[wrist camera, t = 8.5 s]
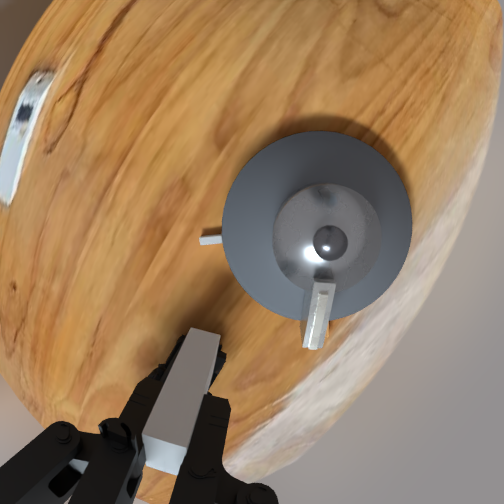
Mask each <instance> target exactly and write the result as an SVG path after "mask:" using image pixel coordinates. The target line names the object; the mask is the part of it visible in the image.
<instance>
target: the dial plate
mask: <svg viewBox="0 0 504 504" xmlns="http://www.w3.org/2000/svg"><path fill="white" fill-rule="evenodd" d="M321 182H325V183H333V184H338V185H341V186H344V187H347V188H350V189H352V190H354V191H356V192H358V193H359V194H360V195H362V196H363V197H364V198H365V199H366V200H367V201H368V202H369V203H370V204H371V206H372V207H373V208H374V210H375V212H376V214H377V216H378V219H379V222H380V226H381V232H382V241H381V248H380V252H379V255H378V258H377V260H376V262H375V264H374V266H373V268H372V269H371V270H370V272H369V273H368V274H367V275H366V276H365V277H364V278H363V279H362V280H361V281H360V282H358V283H357V284H356V285H354V286H352V287H350V288H348V289H346V290H343V291H341V292H336V293H334V298H333V303H332V307H331V312H330V317H329V321H330V320H335V319H339V318H343V317H346V316H349V315H351V314H354V313H356V312H358V311H360V310H362V309H363V308H365V307H367V306H368V305H370V304H371V303H373V302H374V301H375V300H376V299H378V298H379V297H380V296H381V295H382V294H383V293H384V292H385V291H386V290H387V289H388V288H389V287H390V285H391V284H392V283H393V281H394V280H395V279H396V277H397V275H398V274H399V272H400V270H401V269H402V266H403V264H404V262H405V260H406V257H407V254H408V250H409V247H410V242H411V236H412V213H411V207H410V202H409V198H408V195H407V192H406V190H405V187H404V185H403V183H402V181H401V179H400V177H399V175H398V174H397V172H396V171H395V170H394V168H393V167H392V165H391V164H390V163H389V162H388V161H387V160H386V159H385V158H384V157H383V156H382V155H381V154H380V153H379V152H377V151H376V150H375V149H374V148H372V147H371V146H369V145H367V144H366V143H364V142H362V141H360V140H358V139H356V138H353V137H351V136H348V135H344V134H340V133H336V132H328V131H309V132H303V133H297V134H294V135H291V136H287V137H284V138H282V139H280V140H278V141H276V142H274V143H272V144H270V145H268V146H267V147H266V148H264V149H263V150H261V151H260V152H258V153H257V154H256V155H255V156H254V157H253V158H252V159H251V160H250V161H249V162H248V163H247V164H246V165H245V166H244V168H243V169H242V170H241V171H240V173H239V174H238V176H237V178H236V179H235V181H234V182H233V184H232V187H231V189H230V191H229V193H228V196H227V199H226V203H225V206H224V211H223V218H222V234H216V235H207V236H201V237H200V238H199V239H200V245H207V244H218V243H223V247H224V251H225V255H226V258H227V261H228V263H229V266H230V268H231V271H232V272H233V274H234V276H235V277H236V279H237V281H238V282H239V283H240V285H241V286H242V287H243V289H244V290H245V291H246V292H247V293H248V294H249V295H250V296H251V297H252V298H253V299H254V300H255V301H257V302H258V303H259V304H261V305H262V306H263V307H265V308H267V309H269V310H270V311H272V312H274V313H277V314H279V315H281V316H284V317H287V318H291V319H294V320H300V321H301V315H302V309H303V303H304V297H305V291H306V290H304V289H302V288H300V287H298V286H296V285H295V284H293V283H292V282H291V281H290V280H289V279H288V278H287V277H286V276H285V275H284V274H283V272H282V271H281V269H280V268H279V266H278V264H277V262H276V259H275V256H274V252H273V224H274V220H275V217H276V214H277V212H278V210H279V208H280V206H281V205H282V203H283V202H284V201H285V200H286V199H287V198H288V197H289V196H290V195H291V194H292V193H293V192H295V191H296V190H298V189H300V188H302V187H304V186H306V185H309V184H313V183H321ZM329 321H328V326H327V330H326V335H325V338H328V337H329Z"/></svg>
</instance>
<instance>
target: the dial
mask: <svg viewBox="0 0 504 504" xmlns="http://www.w3.org/2000/svg"><path fill="white" fill-rule="evenodd" d="M381 241H382V232H381V226H380V222H379V219H378V216H377V214H376V212H375V210H374V208H373V207H372V206H371V204H370V203H369V202H368V201H367V200H366V199H365V198H364V197H363V196H362V195H360V194H359V193H358V192H356V191H354V190H352V189H350V188H347V187H344V186H341V185H338V184H333V183H325V182H321V183H313V184H309V185H306V186H304V187H302V188H300V189H298V190H296V191H295V192H293V193H292V194H291V195H290V196H289V197H288V198H287V199H286V200H285V201H284V202H283V203H282V205H281V206H280V208H279V210H278V212H277V214H276V217H275V220H274V224H273V252H274V256H275V259H276V262H277V264H278V266H279V268H280V269H281V271H282V272H283V274H284V275H285V276H286V277H287V278H288V279H289V280H290V281H291V282H292V283H293V284H295V285H296V286H298V287H300V288H302V289H304V290H306V291H305V297H304V303H303V309H302V315H301V321H300V333H301V340H302V347H308V348H309V349H313V350H317V348H322V347H323V343H324V339H325V335H326V330H327V326H328V321H329V317H330V312H331V307H332V303H333V298H334V293H336V292H341V291H343V290H346V289H348V288H350V287H352V286H354V285H356V284H357V283H358V282H360V281H361V280H362V279H363V278H364V277H365V276H366V275H367V274H368V273H369V272H370V270H371V269H372V268H373V266H374V264H375V262H376V260H377V258H378V255H379V252H380V248H381Z"/></svg>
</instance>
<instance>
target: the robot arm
mask: <svg viewBox="0 0 504 504" xmlns="http://www.w3.org/2000/svg"><path fill="white" fill-rule="evenodd" d="M220 336H221V335H218V334H215V333H211V332H207V331H203V330H199V329H195V328H192V327H191V328H190V330H189V332H188V334H187V336H186V338H185V341H184V343H183V345H182V347H181V349H180V351H179V353H178V355H177V358H176V360H175V362H174V364H173V366H172V368H171V370H170V372H169V375H168V377H167V379H166V381H165V383H163V382H160V381H157V380H154V379H151V378H148V377H146V378H145V379H143V380H142V381H140V382H139V383H138V384H137V386H136V387H135V389H134V391H133V394H132V395H131V396H130V398H129V401H128V402H127V404H126V406H125V407H124V409H123V411H122V413H121V415H120V417H119V418H108V419H106V420H103V421H102V422H101V423H100V424H99V425H98V427H99V430H100V433H101V434H93V433H87V432H81V431H78V430H77V428H76V427H75V426H74V425H72V424H71V423H69V422H65V421H58V422H55V423H53V424H51V425H50V426H49V427H48V428H46V429H45V430H44V431H43V432H42V433H41V434H39V435H38V436H37V437H36V438H35V439H34V440H32V441H31V442H30V443H29V444H27V445H26V446H25V447H24V448H23V449H22V450H20V451H19V452H18V453H17V454H16V455H15V456H13V457H12V458H11V459H10V460H9V461H7V462H6V463H5V464H4V465H3V466H1V467H0V504H64V502H65V501H67V500H68V498H69V497H70V496H71V495H72V496H71V498H70V500H69V502H68V504H133V501H134V498H135V496H136V493H137V490H138V488H139V485H140V482H141V480H142V475H143V472H142V470H143V467H144V465H145V462H146V466H149V467H151V468H154V469H157V470H161V471H164V472H167V473H170V474H174V475H177V479H176V482H175V485H174V489H173V492H172V495H171V499H170V502H169V504H279V503H278V499H277V496H276V494H275V492H274V490H272V489H271V488H270V487H269V486H267V485H264V484H262V483H250V484H247V483H245V482H243V481H240V480H238V479H236V478H234V477H233V476H231V475H230V474H229V473H228V472H226V470H225V469H224V467H223V464H222V455H223V450H224V445H225V439H226V434H227V428H228V423H229V418H230V412H231V408H230V405H229V402H228V399H224V398H220V397H216V396H212V395H208V394H207V392H208V389H209V385H210V382H211V378H212V375H213V370H214V365H215V361H216V356H217V351H218V346H219V341H220Z"/></svg>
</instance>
